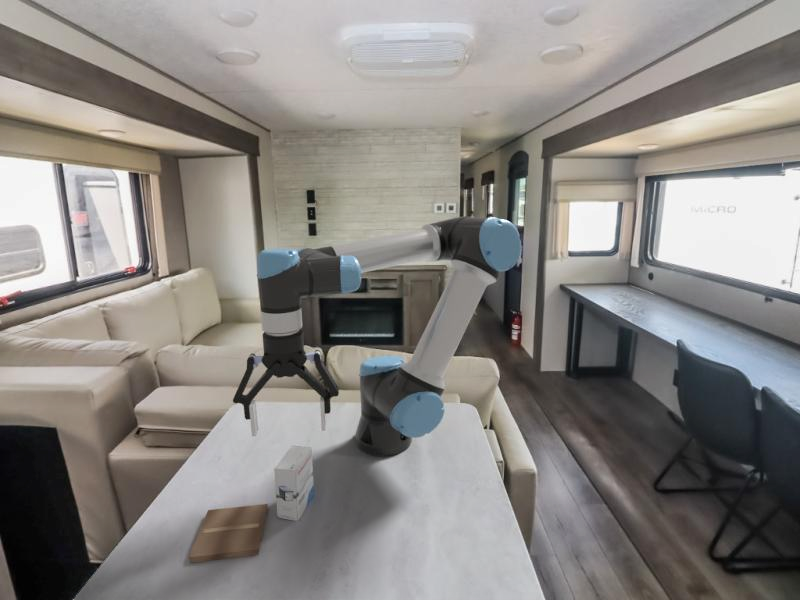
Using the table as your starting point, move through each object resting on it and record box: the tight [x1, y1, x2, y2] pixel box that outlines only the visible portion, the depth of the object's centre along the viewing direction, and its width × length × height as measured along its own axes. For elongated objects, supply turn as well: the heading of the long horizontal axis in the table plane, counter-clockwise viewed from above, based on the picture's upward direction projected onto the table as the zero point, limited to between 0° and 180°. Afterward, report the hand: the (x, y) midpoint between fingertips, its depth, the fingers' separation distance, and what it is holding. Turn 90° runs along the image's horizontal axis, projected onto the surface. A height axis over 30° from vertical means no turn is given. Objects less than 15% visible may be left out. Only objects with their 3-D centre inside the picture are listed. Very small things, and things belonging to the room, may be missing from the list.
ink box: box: [273, 445, 315, 522], centre depth 90 cm, size 9×5×12 cm, turn 168°
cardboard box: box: [188, 503, 269, 564], centre depth 83 cm, size 12×12×1 cm
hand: (289, 430), depth 87 cm, fingers open, 13 cm apart
